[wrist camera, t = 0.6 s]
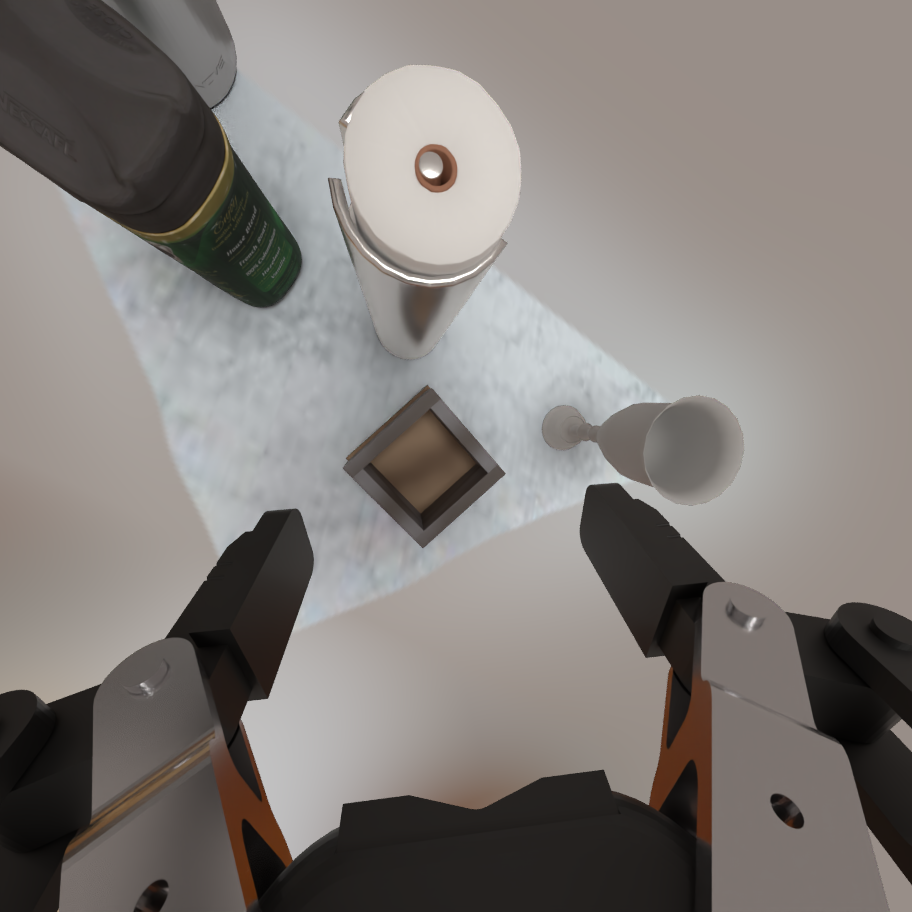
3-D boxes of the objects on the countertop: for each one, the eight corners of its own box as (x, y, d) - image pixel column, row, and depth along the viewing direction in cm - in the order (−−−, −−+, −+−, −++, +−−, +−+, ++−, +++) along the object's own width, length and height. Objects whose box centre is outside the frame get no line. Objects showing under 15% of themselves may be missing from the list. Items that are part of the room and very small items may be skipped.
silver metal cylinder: (407, 277, 34) (427, -16, 10) (454, 327, 36) (571, 177, 11) (361, 325, 34) (270, 149, 10) (410, 373, 36) (434, 322, 12)
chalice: (604, 421, 40) (764, 439, 23) (569, 470, 40) (701, 525, 23) (556, 383, 39) (688, 371, 21) (520, 434, 39) (621, 465, 21)
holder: (347, 456, 36) (337, 468, 30) (426, 385, 36) (432, 383, 30) (419, 529, 39) (422, 552, 33) (493, 462, 39) (510, 473, 33)
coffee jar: (318, 252, 33) (219, 73, 15) (271, 323, 33) (118, 233, 15) (219, 177, 31) (-39, -142, 13) (170, 253, 31) (-150, 50, 13)
